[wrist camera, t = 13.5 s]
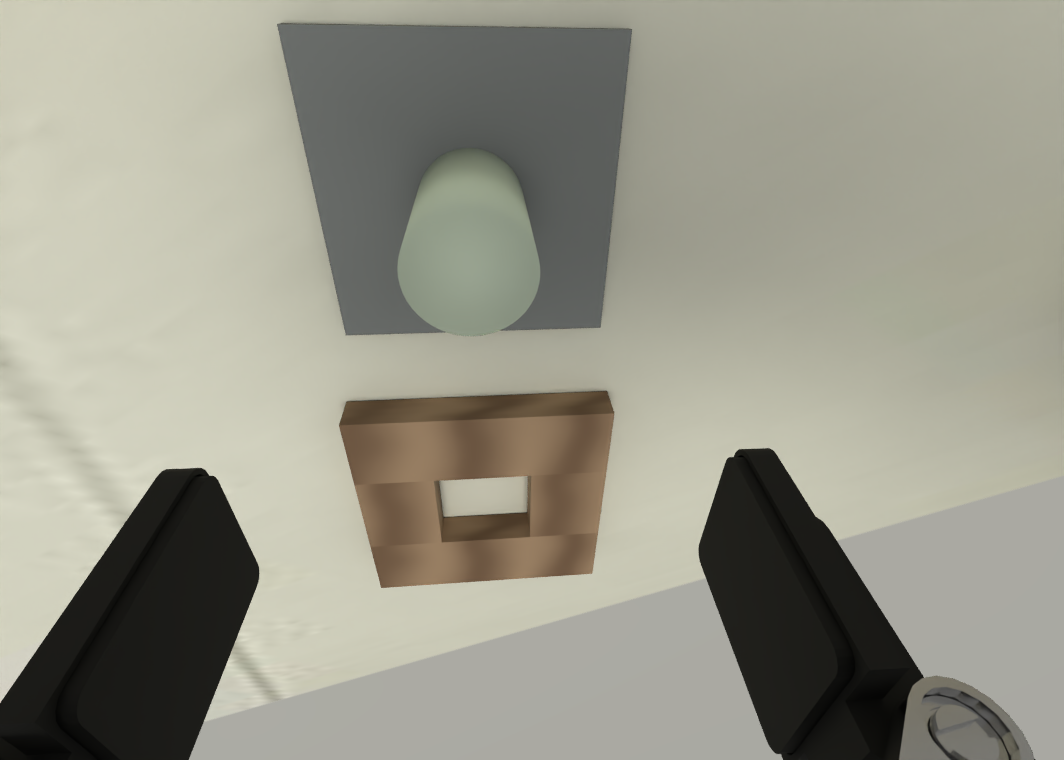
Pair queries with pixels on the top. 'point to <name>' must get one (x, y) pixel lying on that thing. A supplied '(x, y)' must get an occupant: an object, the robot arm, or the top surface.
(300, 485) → the top surface
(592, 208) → the rubber pad
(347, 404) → the pocket block
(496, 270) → the sage peg
